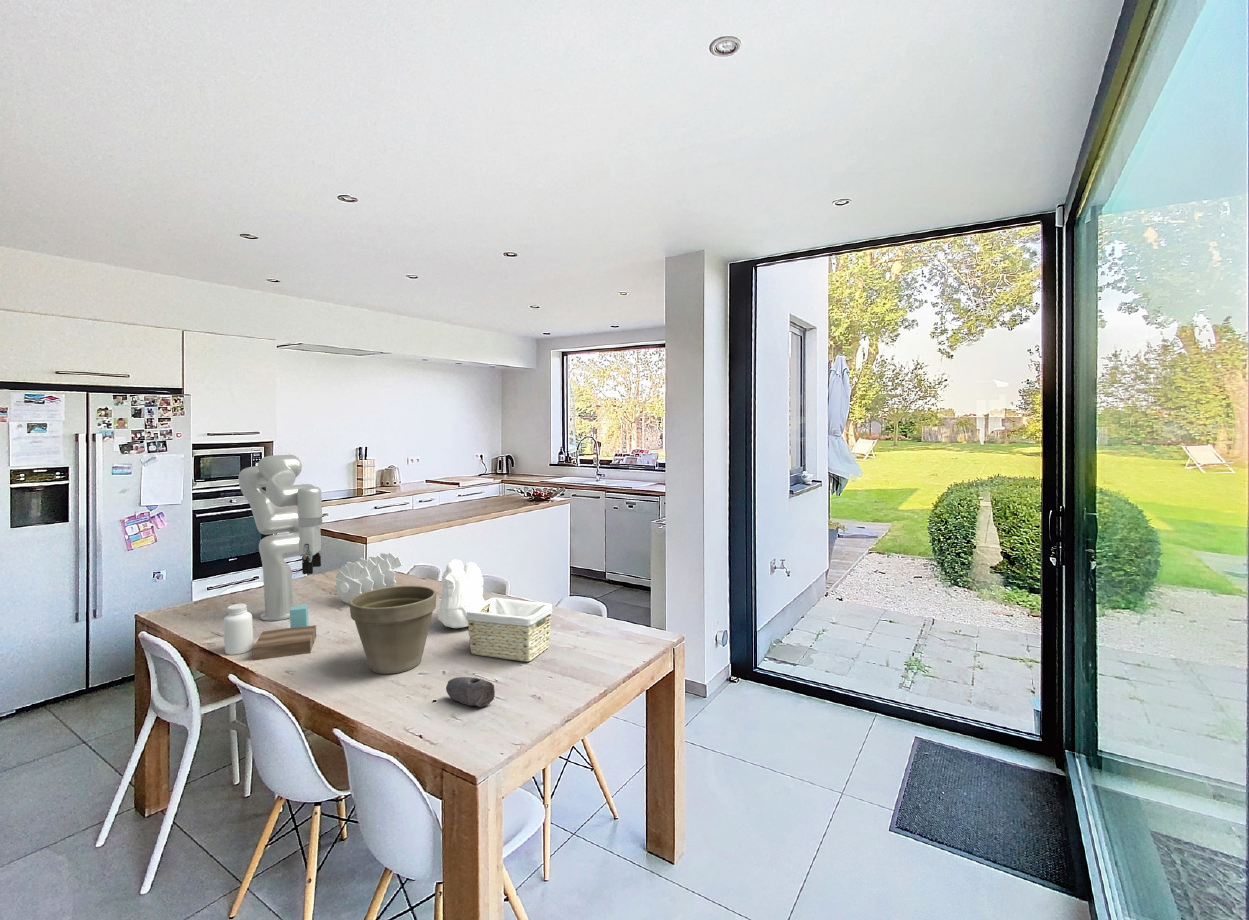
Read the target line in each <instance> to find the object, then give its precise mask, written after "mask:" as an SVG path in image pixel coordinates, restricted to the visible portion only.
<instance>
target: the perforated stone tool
mask: <svg viewBox="0 0 1249 920" xmlns="http://www.w3.org/2000/svg"><path fill="white" fill-rule="evenodd" d="M445 690H446V693H447V695H448V696H449V698H451V699H452V700H454V701H455V702H459V703H461V704H464V705H466V706H472V707H473V706H477V707H478V708H483V707H484V706H487V705H490V703H491V702H493V701H494V698H495V696H496V693H495V692H496V690H495V685H494V684H493V682H491V681H488V680H485V679H483V678H478V677H469V676H468V677H467V676H460V677H459V676H458V677H454V678H451V679H449V680H448V681H447V684H446V687H445Z"/></svg>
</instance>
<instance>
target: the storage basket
mask: <svg viewBox="0 0 1249 920" xmlns="http://www.w3.org/2000/svg"><path fill="white" fill-rule="evenodd" d="M553 611H554V610H553V605H552V604H551V603H544V602H539V601H538V602H536V601H526V600H519V599H510V598H500V597H496V596H495V597H491V598H489V599H487V600H484V602H482V603H480V604H478V605H476V606H474V607H473V608H471V609H469V610H467V615H466V619H467V620H468V626H467V627H468V637H469V643H470V645H469V647H470V653H471V654H472V655H476V656H482V657H490V658H496V659H497V658H498V659H503V660H513V661H520V662H531V661H532V660H534V659H535V658H537V657H538V656H539V655H541V654H542V653H543V652H544V651H546V649H548V648H549V647H550V637H551V623H552V622H551V621H552V614H553ZM483 612H484V613H483Z"/></svg>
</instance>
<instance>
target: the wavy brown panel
mask: <svg viewBox="0 0 1249 920" xmlns="http://www.w3.org/2000/svg"><path fill="white" fill-rule="evenodd" d="M316 639H317V625H309V626H305V627H296V628H289V627H288V628H281V629H271V630H263V631H262V632H261V634H260V636H259V637H258V638H257V641H255V643H254V644H253V649H252V659H253V661H258V660H267V659H274V658H275V659H276V658H282V657H291V656H297V655H304V654H305V655H306V654H311V652H312V650H313V647H314V645H315V644H314V643H315V641H316Z"/></svg>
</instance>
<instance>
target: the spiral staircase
mask: <svg viewBox="0 0 1249 920" xmlns="http://www.w3.org/2000/svg"><path fill="white" fill-rule="evenodd" d="M402 566H403V563H402V561H401V558H400V557H399V556H398V557H396V555H394V554H393V553H392V552H391V551H389V553H383V552H380V555H379V554H378V555H376V556H368V558H367V559H365V558H361V557H359V560H357V561H354V562H351V561H347V562H346V564H344V565H342V566H340V567H339V570H338V572H337V573H336V576H335V578H336V579H335V585H334V586H335V590H336V594H337V596H338V597H339V598H340V599H341V601H342V602H343V603H347V604H348V605H349V604H350V603H349V602H350V600H351V599H352V598H353V597H355V596H357V595H359V594H361V593H364V592H367V591H371V590H375V589H380V588H386V587H395V586H396V584H398V582H397V580H395V579H396V572H395V571H394V570H396V569H398V568H400V567H402Z"/></svg>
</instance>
